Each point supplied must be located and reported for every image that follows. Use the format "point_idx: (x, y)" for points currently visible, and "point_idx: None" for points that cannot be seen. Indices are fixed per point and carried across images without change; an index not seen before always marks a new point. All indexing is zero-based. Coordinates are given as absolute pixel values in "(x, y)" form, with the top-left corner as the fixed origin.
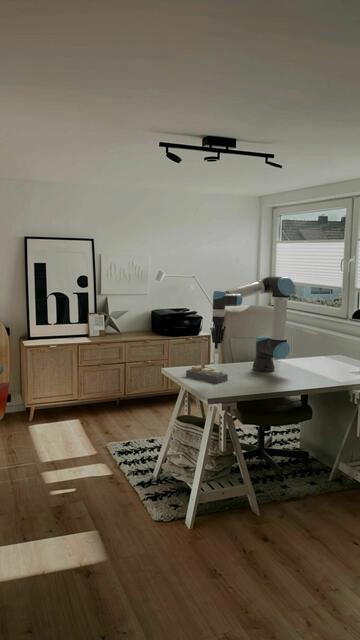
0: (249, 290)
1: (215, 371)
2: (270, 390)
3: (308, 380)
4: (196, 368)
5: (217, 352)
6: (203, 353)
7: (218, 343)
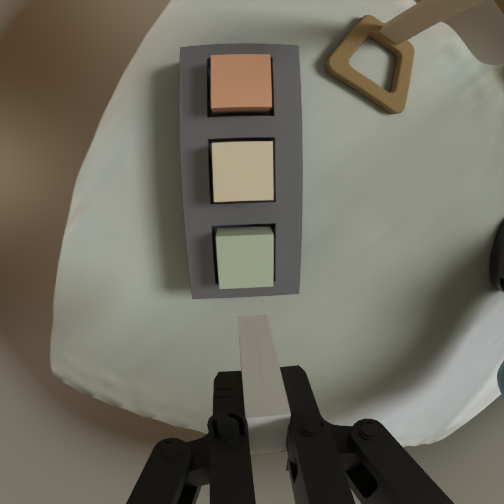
0: None
1: (231, 262)
2: None
3: (439, 404)
4: (211, 97)
5: (240, 359)
6: (435, 10)
7: (262, 448)
